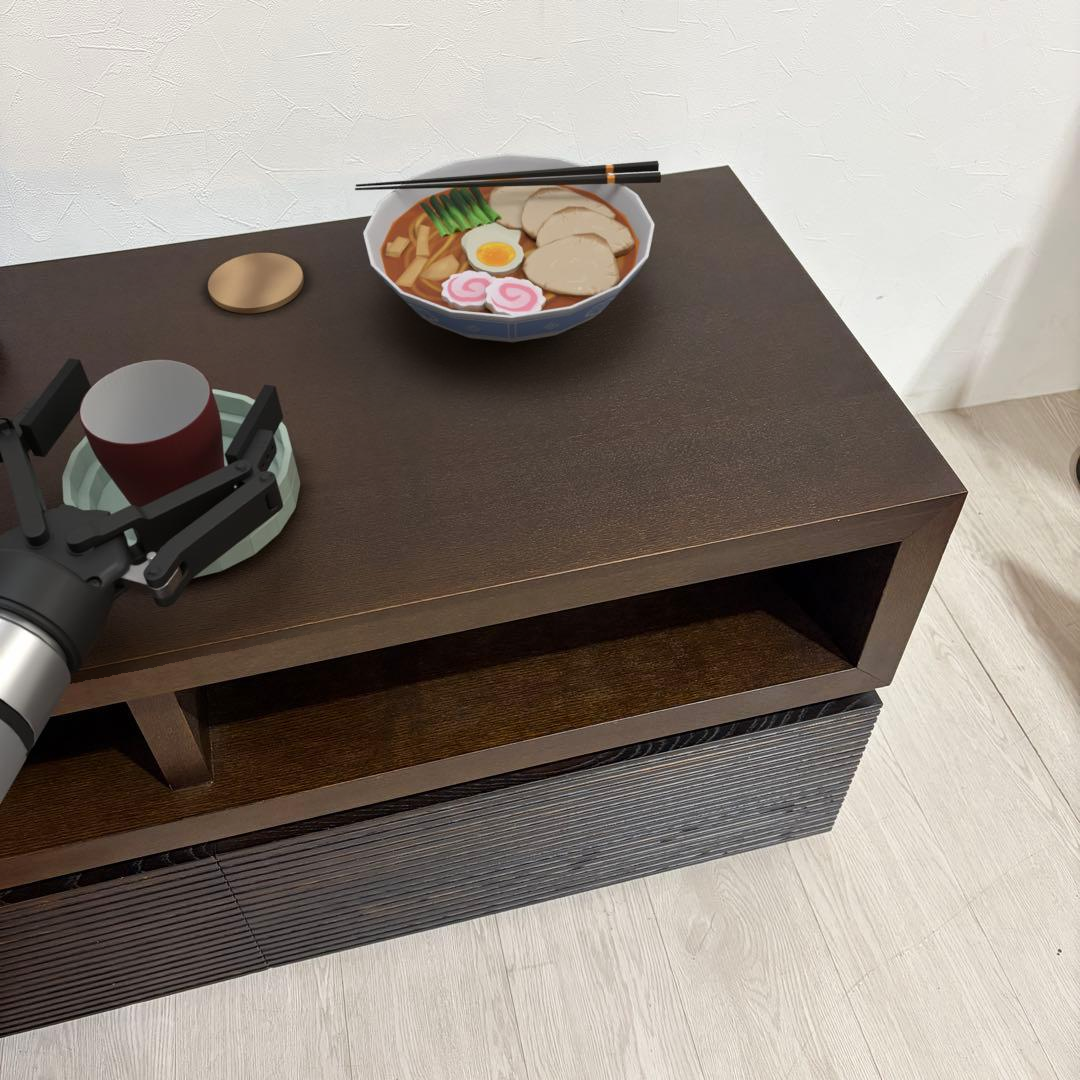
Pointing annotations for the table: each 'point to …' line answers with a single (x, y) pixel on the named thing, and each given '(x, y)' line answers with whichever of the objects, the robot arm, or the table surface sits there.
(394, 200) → the ramen bowl
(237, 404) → the serving bowl
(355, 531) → the table surface
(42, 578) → the robot arm
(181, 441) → the mug
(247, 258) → the coaster
